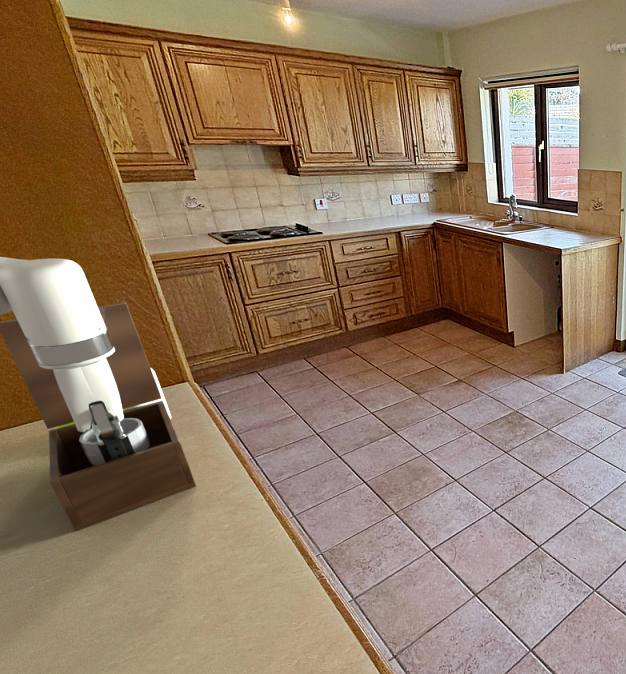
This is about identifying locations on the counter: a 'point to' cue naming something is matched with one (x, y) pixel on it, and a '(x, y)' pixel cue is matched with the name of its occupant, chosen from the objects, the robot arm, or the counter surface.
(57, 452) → the chest
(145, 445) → the bowl
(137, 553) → the counter surface
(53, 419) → the lid
